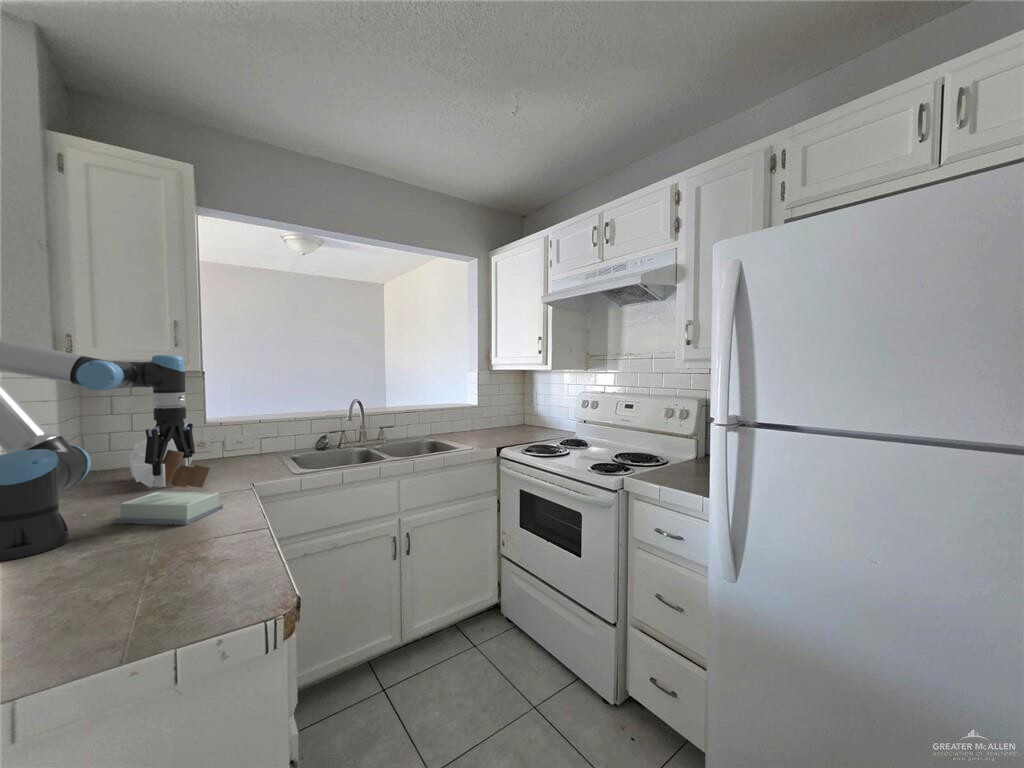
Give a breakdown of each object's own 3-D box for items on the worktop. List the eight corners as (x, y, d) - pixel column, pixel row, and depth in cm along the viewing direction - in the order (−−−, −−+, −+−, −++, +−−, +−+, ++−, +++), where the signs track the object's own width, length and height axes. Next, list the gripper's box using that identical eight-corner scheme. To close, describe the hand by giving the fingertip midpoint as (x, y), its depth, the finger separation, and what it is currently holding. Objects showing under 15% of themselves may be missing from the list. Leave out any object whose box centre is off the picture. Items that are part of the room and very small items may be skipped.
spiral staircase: (149, 502, 149) (142, 484, 166) (203, 473, 160) (191, 460, 177) (117, 460, 142) (114, 447, 160) (176, 434, 153) (167, 424, 170)
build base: (185, 525, 117) (185, 506, 117) (115, 523, 118) (115, 504, 118) (222, 508, 131) (222, 491, 131) (160, 507, 132) (159, 490, 132)
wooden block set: (206, 493, 124) (220, 460, 127) (175, 490, 116) (191, 454, 119) (171, 483, 131) (184, 452, 134) (140, 480, 123) (155, 446, 126)
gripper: (150, 410, 113) (152, 492, 114) (208, 404, 133) (210, 474, 134) (124, 409, 113) (127, 492, 114) (186, 403, 134) (187, 473, 134)
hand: (171, 482), depth 124 cm, fingers closed on wooden block set, 7 cm apart
